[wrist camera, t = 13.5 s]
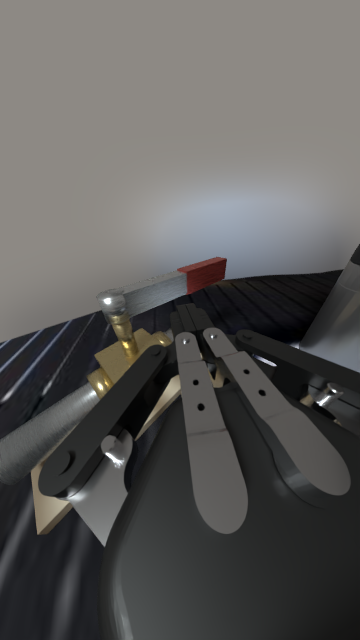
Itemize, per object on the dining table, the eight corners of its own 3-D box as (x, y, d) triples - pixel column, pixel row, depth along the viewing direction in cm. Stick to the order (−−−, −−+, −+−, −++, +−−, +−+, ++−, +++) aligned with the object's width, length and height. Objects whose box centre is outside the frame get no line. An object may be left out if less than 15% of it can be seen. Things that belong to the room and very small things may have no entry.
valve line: (185, 328, 35) (183, 277, 28) (209, 342, 31) (214, 286, 24) (27, 441, 19) (-83, 389, 11) (34, 503, 14) (-135, 484, 7)
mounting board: (178, 329, 38) (178, 320, 36) (219, 352, 31) (220, 343, 29) (33, 430, 21) (19, 422, 19) (47, 533, 14) (27, 535, 12)
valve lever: (111, 328, 16) (99, 301, 14) (104, 318, 18) (92, 292, 16) (226, 279, 26) (228, 258, 24) (213, 275, 28) (215, 256, 26)
